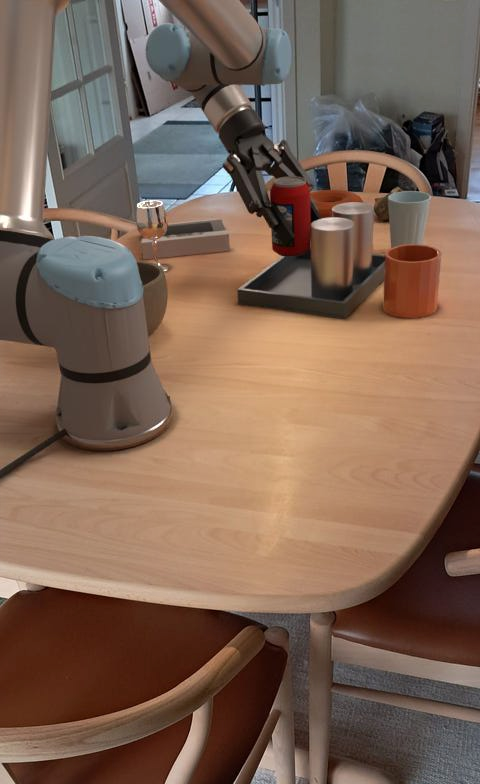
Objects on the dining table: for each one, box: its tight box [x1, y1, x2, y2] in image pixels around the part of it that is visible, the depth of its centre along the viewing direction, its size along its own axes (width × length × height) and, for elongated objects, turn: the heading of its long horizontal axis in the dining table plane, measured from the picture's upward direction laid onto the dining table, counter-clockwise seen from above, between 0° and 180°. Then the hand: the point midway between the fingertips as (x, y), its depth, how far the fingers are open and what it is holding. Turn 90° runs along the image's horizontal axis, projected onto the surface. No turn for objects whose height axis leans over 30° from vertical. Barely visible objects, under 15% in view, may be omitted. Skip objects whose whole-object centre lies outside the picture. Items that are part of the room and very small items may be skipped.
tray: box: [236, 247, 385, 320], centre depth 145 cm, size 24×20×3 cm
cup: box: [388, 190, 432, 248], centre depth 154 cm, size 8×8×10 cm
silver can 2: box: [332, 202, 375, 284], centre depth 144 cm, size 7×7×12 cm
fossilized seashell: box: [373, 186, 405, 221], centre depth 174 cm, size 8×7×10 cm
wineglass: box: [135, 200, 170, 272], centre depth 155 cm, size 6×6×12 cm
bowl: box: [136, 260, 169, 338], centre depth 131 cm, size 17×18×10 cm
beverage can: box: [269, 176, 311, 257], centre depth 141 cm, size 7×7×12 cm
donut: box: [310, 189, 365, 219], centre depth 175 cm, size 15×15×5 cm
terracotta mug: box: [382, 244, 442, 319], centre depth 134 cm, size 12×9×9 cm
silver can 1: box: [311, 217, 354, 301], centre depth 137 cm, size 7×7×12 cm
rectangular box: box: [140, 218, 231, 261], centre depth 170 cm, size 17×5×16 cm
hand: (305, 236), depth 141 cm, fingers closed on beverage can, 7 cm apart
